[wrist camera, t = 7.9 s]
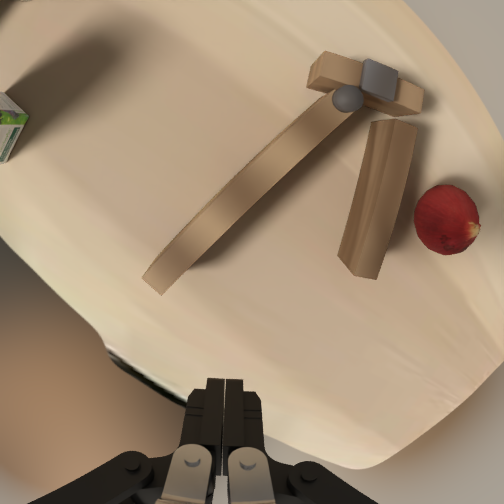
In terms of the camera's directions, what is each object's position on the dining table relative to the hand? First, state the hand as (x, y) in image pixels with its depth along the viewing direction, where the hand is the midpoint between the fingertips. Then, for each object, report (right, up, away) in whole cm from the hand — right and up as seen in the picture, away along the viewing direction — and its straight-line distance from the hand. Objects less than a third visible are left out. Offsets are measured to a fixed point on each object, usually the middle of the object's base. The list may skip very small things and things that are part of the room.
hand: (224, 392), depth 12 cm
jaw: (+1, +11, +12) cm, 16 cm away
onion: (+17, +10, +13) cm, 24 cm away
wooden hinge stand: (+8, +13, +12) cm, 20 cm away
